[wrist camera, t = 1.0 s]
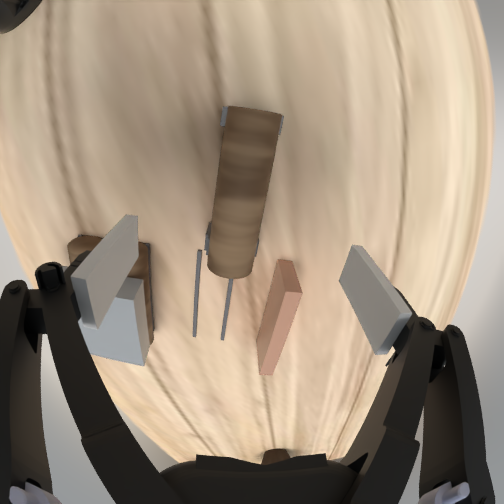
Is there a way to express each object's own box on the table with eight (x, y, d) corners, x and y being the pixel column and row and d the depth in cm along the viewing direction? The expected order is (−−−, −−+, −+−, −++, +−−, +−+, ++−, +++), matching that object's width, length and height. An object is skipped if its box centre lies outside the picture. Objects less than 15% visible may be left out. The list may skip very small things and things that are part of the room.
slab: (51, 263, 29) (37, 280, 25) (143, 279, 30) (133, 300, 27) (70, 327, 34) (60, 345, 31) (150, 345, 36) (144, 366, 33)
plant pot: (246, 456, 75) (248, 494, 61) (265, 444, 69) (269, 487, 55) (283, 457, 79) (287, 493, 65) (304, 445, 73) (311, 485, 59)
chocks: (79, 234, 33) (77, 235, 32) (236, 254, 35) (236, 256, 35) (95, 317, 40) (94, 319, 40) (223, 338, 43) (223, 340, 43)
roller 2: (116, 239, 33) (103, 258, 29) (151, 242, 34) (142, 263, 30) (126, 324, 41) (119, 346, 36) (156, 327, 42) (151, 351, 37)
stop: (277, 259, 36) (285, 291, 30) (292, 261, 36) (302, 293, 30) (256, 341, 44) (259, 374, 37) (268, 342, 44) (272, 375, 38)
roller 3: (229, 107, 23) (227, 105, 19) (278, 114, 24) (286, 115, 20) (209, 252, 31) (205, 275, 27) (250, 257, 31) (253, 281, 27)
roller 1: (78, 233, 33) (60, 251, 28) (108, 237, 33) (92, 256, 29) (94, 316, 40) (83, 337, 36) (120, 322, 41) (111, 344, 36)
